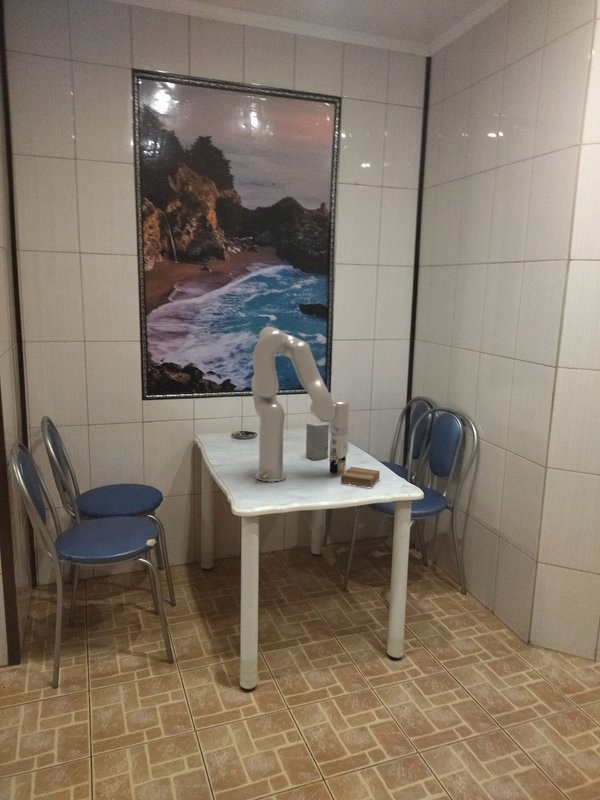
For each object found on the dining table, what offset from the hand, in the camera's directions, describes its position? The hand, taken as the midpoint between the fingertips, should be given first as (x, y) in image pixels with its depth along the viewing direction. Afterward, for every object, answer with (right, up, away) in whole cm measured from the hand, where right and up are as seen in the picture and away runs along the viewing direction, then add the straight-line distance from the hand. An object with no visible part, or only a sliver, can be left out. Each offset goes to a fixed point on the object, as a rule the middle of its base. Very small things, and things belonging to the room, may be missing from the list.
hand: (337, 469), depth 246 cm
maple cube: (0, -1, 0) cm, 2 cm away
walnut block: (+8, -4, -10) cm, 14 cm away
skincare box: (-8, +3, +21) cm, 23 cm away
